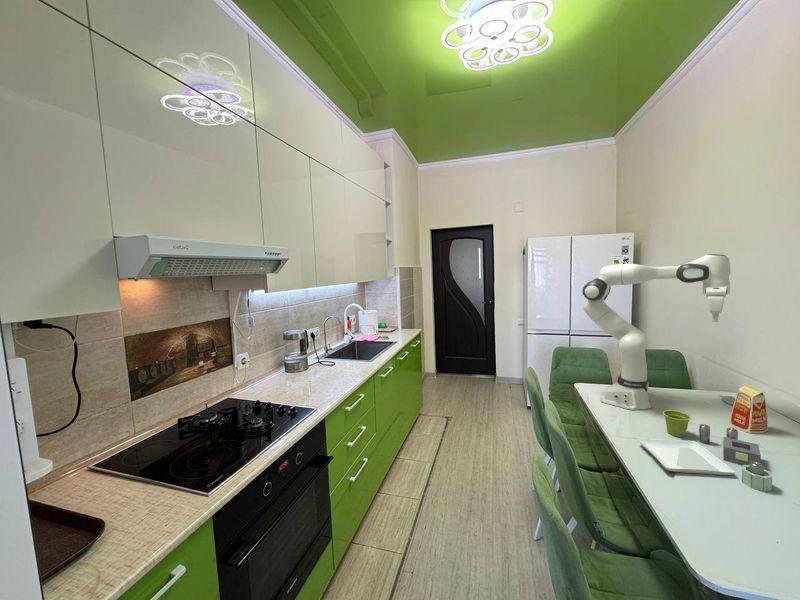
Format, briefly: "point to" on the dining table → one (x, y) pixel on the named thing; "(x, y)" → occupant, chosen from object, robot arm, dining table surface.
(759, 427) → the milk carton
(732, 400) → the spoon rest
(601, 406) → the dining table surface
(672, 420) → the plant pot
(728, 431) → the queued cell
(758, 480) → the cup
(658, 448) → the salad plate
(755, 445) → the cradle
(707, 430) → the cell
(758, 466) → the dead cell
